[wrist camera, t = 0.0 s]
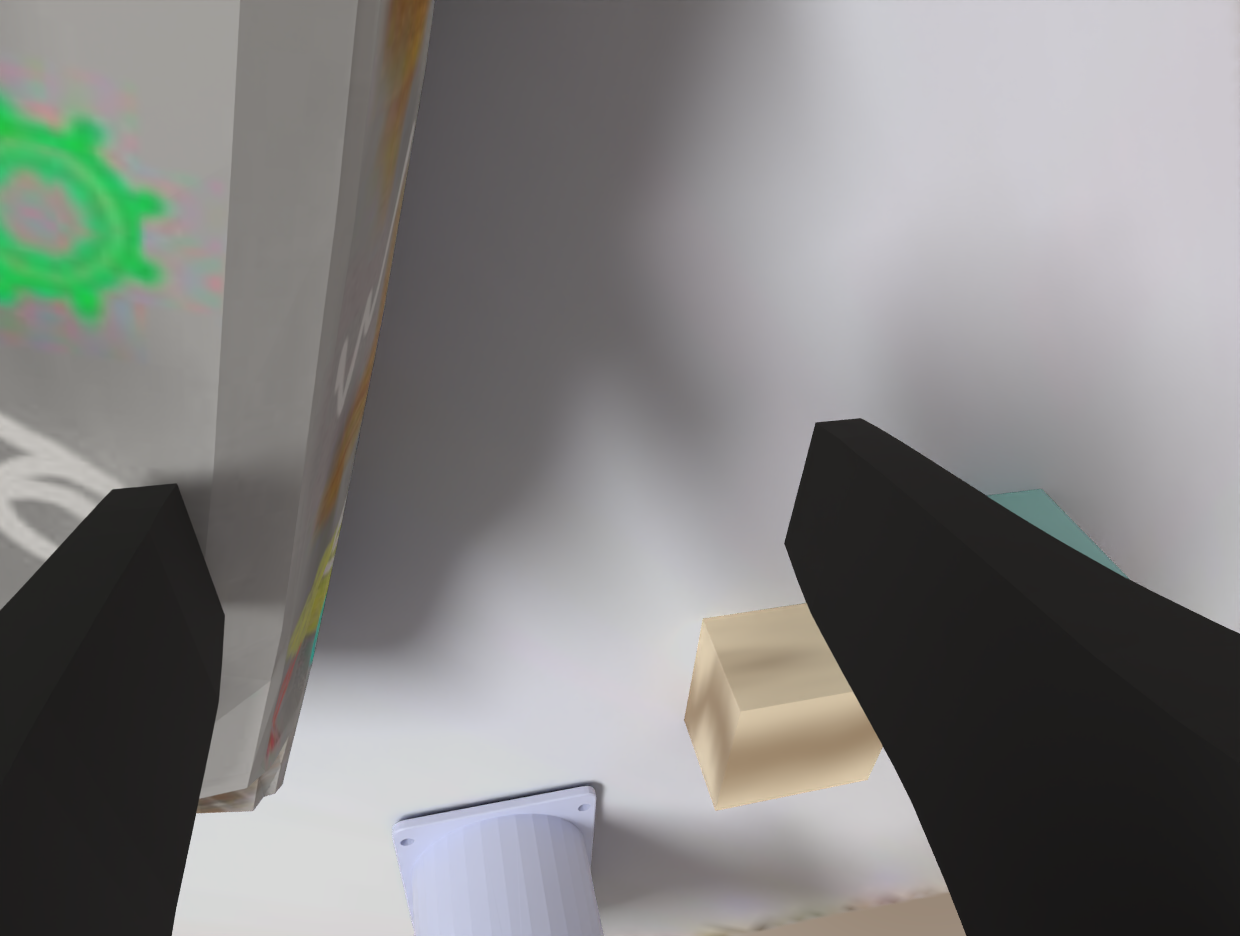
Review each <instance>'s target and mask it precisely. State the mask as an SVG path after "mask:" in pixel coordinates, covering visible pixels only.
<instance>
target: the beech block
mask: <svg viewBox="0 0 1240 936" xmlns="http://www.w3.org/2000/svg"><path fill="white" fill-rule="evenodd" d="M684 721H685V723H686V726H687V729H688V732H689V735H690V738H691V741H692V744H693V747H694V750H695V753H696V756H697V759H698V761H699V764H700V767H701V770H702V773H703V776H704V779H705V782H706V785H707V788H708V791H709V794H710V797H711V799H712V802H713V805H714V808H715V811H717V810H722V809H727V808H732V807H737V806H742V805H747V804H751V803H756V802H761V801H766V800H771V799H776V798H781V797H786V796H791V795H796V794H800V793H805V792H810V791H815V790H820V789H825V788H830V787H835V786H840V785H844V784H849V783H854V782H859V781H864V780H868V778H869V775H870V773H871V771H872V769H873V767H874V764H875V762H876V760H877V758H878V756H879V754H880V751H881V749H882V747H883V746H882V744H881V742H880V740H879V738H878V736H877V735H876V733H875V731H874V729H873V727H872V726H871V724H870V722H869V720H868V718H867V716H866V715H865V713H864V711H863V709H862V707H861V706H860V704H859V702H858V700H857V698H856V696H855V695H854V693H853V691H852V689H851V687H850V686H849V684H848V682H847V680H846V678H845V676H844V675H843V673H842V671H841V669H840V667H839V665H838V664H837V662H836V660H835V658H834V656H833V654H832V652H831V651H830V649H829V647H828V645H827V643H826V641H825V639H824V638H823V636H822V634H821V632H820V630H819V628H818V626H817V624H816V622H815V620H814V619H813V617H812V615H811V613H810V610H809V608H808V605H807V603H804V604H797V605H790V606H784V607H777V608H770V609H764V610H757V611H750V612H744V613H737V614H730V615H724V616H717V617H710V618H703V620H702V626H701V631H700V637H699V642H698V648H697V653H696V659H695V664H694V670H693V675H692V681H691V686H690V692H689V697H688V702H687V708H686V713H685V719H684Z"/></svg>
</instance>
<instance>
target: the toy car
mask: <svg viewBox="0 0 1240 936" xmlns="http://www.w3.org/2000/svg"><path fill="white" fill-rule="evenodd" d="M434 5H435V0H0V610H1V609H2V608H3V607H4V606H5V605H6V604H7V602H8V601H9V600H10V599H11V598H12V597H13V596H14V595H15V594H16V593H17V592H18V591H19V590H20V589H21V588H22V586H23V585H24V584H25V583H26V582H27V581H28V580H29V579H30V578H31V577H32V576H33V574H34V573H35V572H36V571H37V570H38V569H39V568H40V567H41V566H42V565H43V564H44V562H45V561H46V560H47V559H48V558H49V557H50V556H51V555H52V554H53V553H54V552H55V550H56V549H57V548H58V547H59V546H60V545H61V544H62V543H63V542H64V541H65V539H66V538H67V537H68V536H69V535H70V534H71V533H72V532H73V531H74V530H75V529H76V527H77V526H78V525H79V524H80V523H81V522H82V521H83V520H84V519H85V518H86V517H87V516H88V514H89V513H90V512H91V511H92V510H93V509H94V508H95V507H96V506H97V505H98V504H99V503H100V502H101V501H102V500H103V498H104V497H105V496H106V495H107V494H108V493H109V492H110V491H111V490H112V489H121V488H131V487H142V486H152V485H163V484H174V483H177V485H178V487H179V490H180V493H181V496H182V498H183V501H184V504H185V507H186V509H187V512H188V515H189V518H190V520H191V523H192V526H193V529H194V531H195V534H196V537H197V540H198V542H199V545H200V548H201V551H202V553H203V556H204V559H205V562H206V564H207V567H208V570H209V573H210V575H211V578H212V581H213V584H214V586H215V589H216V592H217V595H218V597H219V600H220V603H221V606H222V608H223V611H224V614H225V624H224V641H223V658H222V671H221V683H220V695H219V704H218V709H217V714H216V720H215V725H214V730H213V735H212V739H211V744H210V749H209V754H208V759H207V764H206V769H205V774H204V779H203V783H202V788H201V793H200V797H199V802H198V807H197V812H196V813H216V812H242V811H253V810H254V809H255V808H256V806H257V805H258V804H259V802H260V801H261V799H262V798H263V797H265V796H268V795H271V794H275V793H276V791H277V790H278V789H279V788H280V787H281V786H282V784H283V780H284V776H285V771H286V767H287V763H288V759H289V755H290V751H291V747H292V743H293V739H294V735H295V731H296V727H297V722H298V718H299V714H300V710H301V706H302V702H303V698H304V694H305V690H306V686H307V682H308V677H309V673H310V669H311V666H312V661H313V656H314V652H315V648H316V643H317V638H318V633H319V629H320V624H321V619H322V614H323V609H324V605H325V600H326V595H327V590H328V586H329V581H330V576H331V571H332V566H333V562H334V557H335V552H336V547H337V543H338V538H339V533H340V528H341V523H342V519H343V514H344V509H345V504H346V499H347V494H348V489H349V484H350V479H351V474H352V469H353V464H354V459H355V454H356V449H357V444H358V439H359V434H360V429H361V424H362V419H363V414H364V409H365V404H366V399H367V394H368V389H369V384H370V379H371V374H372V369H373V364H374V359H375V354H376V349H377V344H378V339H379V334H380V329H381V324H382V319H383V313H384V308H385V302H386V296H387V290H388V284H389V278H390V272H391V267H392V261H393V255H394V249H395V243H396V237H397V231H398V226H399V220H400V214H401V208H402V202H403V196H404V190H405V185H406V179H407V173H408V167H409V161H410V155H411V149H412V144H413V138H414V132H415V127H416V121H417V115H418V110H419V104H420V98H421V92H422V87H423V81H424V75H425V69H426V62H427V55H428V48H429V41H430V34H431V27H432V20H433V13H434Z"/></svg>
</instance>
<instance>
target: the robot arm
mask: <svg viewBox="0 0 1240 936" xmlns="http://www.w3.org/2000/svg"><path fill="white" fill-rule="evenodd" d="M784 544H785V546H786V549H787V552H788V555H789V558H790V560H791V563H792V566H793V569H794V572H795V574H796V577H797V580H798V583H799V585H800V588H801V590H802V593H803V595H804V598H805V600H806V603H807V605H808V608H809V610H810V613H811V615H812V617H813V619H814V620H815V622H816V624H817V626H818V628H819V630H820V632H821V634H822V636H823V638H824V639H825V641H826V643H827V645H828V647H829V649H830V651H831V652H832V654H833V656H834V658H835V660H836V662H837V664H838V665H839V667H840V669H841V671H842V673H843V675H844V676H845V678H846V680H847V682H848V684H849V686H850V687H851V689H852V691H853V693H854V695H855V696H856V698H857V700H858V702H859V704H860V706H861V707H862V709H863V711H864V713H865V715H866V716H867V718H868V720H869V722H870V724H871V726H872V727H873V729H874V731H875V733H876V735H877V736H878V738H879V740H880V742H881V744H882V746H883V747H884V749H885V751H886V753H887V755H888V757H889V758H890V760H891V762H892V764H893V766H894V768H895V770H896V772H897V774H898V776H899V778H900V780H901V782H902V784H903V786H904V788H905V790H906V792H907V794H908V796H909V798H910V800H911V802H912V804H913V807H914V809H915V811H916V814H917V816H918V818H919V821H920V823H921V825H922V828H923V830H924V832H925V835H926V837H927V840H928V842H929V844H930V847H931V849H932V851H933V854H934V856H935V858H936V861H937V863H938V865H939V868H940V870H941V872H942V875H943V877H944V880H945V882H946V885H947V887H948V890H949V892H950V895H951V897H952V900H953V903H954V905H955V908H956V910H957V913H958V915H959V918H960V920H961V923H962V925H963V928H964V930H965V933H966V936H1240V634H1239V633H1237V632H1235V631H1233V630H1230V629H1228V628H1226V627H1224V626H1222V625H1220V624H1218V623H1216V622H1213V621H1211V620H1209V619H1207V618H1205V617H1203V616H1201V615H1199V614H1197V613H1195V612H1193V611H1191V610H1189V609H1187V608H1185V607H1183V606H1181V605H1179V604H1177V603H1175V602H1173V601H1171V600H1169V599H1167V598H1164V597H1162V596H1160V595H1158V594H1156V593H1154V592H1152V591H1150V590H1148V589H1146V588H1145V587H1143V586H1141V585H1139V584H1137V583H1135V582H1133V581H1131V580H1129V579H1127V578H1126V577H1124V576H1122V575H1120V574H1118V573H1116V572H1114V571H1113V570H1111V569H1109V568H1107V567H1106V566H1104V565H1102V564H1100V563H1098V562H1097V561H1095V560H1093V559H1091V558H1090V557H1088V556H1086V555H1084V554H1083V553H1081V552H1079V551H1077V550H1075V549H1074V548H1072V547H1070V546H1068V545H1067V544H1065V543H1063V542H1061V541H1060V540H1058V539H1056V538H1055V537H1053V536H1051V535H1050V534H1048V533H1046V532H1045V531H1043V530H1041V529H1039V528H1038V527H1036V526H1034V525H1033V524H1031V523H1029V522H1028V521H1026V520H1025V519H1023V518H1021V517H1020V516H1018V515H1016V514H1015V513H1013V512H1012V511H1010V510H1008V509H1007V508H1005V507H1004V506H1002V505H1000V504H999V503H997V502H996V501H994V500H992V499H991V498H989V497H988V496H986V495H984V494H983V493H981V492H980V491H978V490H976V489H975V488H973V487H972V486H970V485H969V484H967V483H965V482H964V481H962V480H961V479H959V478H958V477H956V476H955V475H953V474H951V473H950V472H948V471H947V470H945V469H944V468H942V467H940V466H939V465H937V464H936V463H934V462H933V461H931V460H930V459H928V458H926V457H925V456H923V455H922V454H920V453H919V452H917V451H915V450H914V449H912V448H911V447H909V446H907V445H906V444H904V443H903V442H901V441H899V440H898V439H896V438H895V437H893V436H891V435H890V434H888V433H886V432H885V431H883V430H881V429H879V428H878V427H876V426H874V425H872V424H870V423H869V422H867V421H865V420H863V419H861V418H859V419H849V420H838V421H828V422H817V423H815V427H814V431H813V435H812V439H811V443H810V447H809V450H808V454H807V458H806V462H805V466H804V470H803V474H802V477H801V481H800V485H799V489H798V493H797V497H796V500H795V504H794V508H793V512H792V516H791V520H790V524H789V527H788V531H787V535H786V539H785V543H784ZM224 624H225V614H224V611H223V608H222V606H221V603H220V600H219V597H218V595H217V592H216V589H215V586H214V584H213V581H212V578H211V575H210V573H209V570H208V567H207V564H206V562H205V559H204V556H203V553H202V551H201V548H200V545H199V542H198V540H197V537H196V534H195V531H194V529H193V526H192V523H191V520H190V518H189V515H188V512H187V509H186V507H185V504H184V501H183V498H182V496H181V493H180V490H179V487H178V485H177V483H174V484H163V485H152V486H142V487H131V488H121V489H112V490H111V491H110V492H109V493H108V494H107V495H106V496H105V497H104V498H103V500H102V501H101V502H100V503H99V504H98V505H97V506H96V507H95V508H94V509H93V510H92V511H91V512H90V513H89V514H88V516H87V517H86V518H85V519H84V520H83V521H82V522H81V523H80V524H79V525H78V526H77V527H76V529H75V530H74V531H73V532H72V533H71V534H70V535H69V536H68V537H67V538H66V539H65V541H64V542H63V543H62V544H61V545H60V546H59V547H58V548H57V549H56V550H55V552H54V553H53V554H52V555H51V556H50V557H49V558H48V559H47V560H46V561H45V562H44V564H43V565H42V566H41V567H40V568H39V569H38V570H37V571H36V572H35V573H34V574H33V576H32V577H31V578H30V579H29V580H28V581H27V582H26V583H25V584H24V585H23V586H22V588H21V589H20V590H19V591H18V592H17V593H16V594H15V595H14V596H13V597H12V598H11V599H10V600H9V601H8V602H7V604H6V605H5V606H4V607H3V608H2V609H1V610H0V936H172V930H173V924H174V918H175V912H176V907H177V902H178V897H179V892H180V888H181V883H182V878H183V873H184V869H185V864H186V859H187V854H188V850H189V845H190V840H191V835H192V831H193V826H194V821H195V816H196V812H197V807H198V802H199V797H200V793H201V788H202V783H203V779H204V774H205V769H206V764H207V759H208V754H209V749H210V744H211V739H212V735H213V730H214V725H215V720H216V714H217V709H218V704H219V695H220V683H221V671H222V658H223V641H224ZM596 798H597V797H596V793H595V789H594V788H593V787H591V786H581V787H576V788H571V789H565V790H560V791H555V792H549V793H544V794H539V795H534V796H528V797H523V798H518V799H512V800H507V801H502V802H496V803H491V804H486V805H481V806H475V807H470V808H465V809H459V810H454V811H449V812H444V813H438V814H433V815H428V816H422V817H417V818H412V819H406V820H402V821H399V822H397V823H396V824H395V825H394V826H393V827H392V838H393V842H394V846H395V851H396V855H397V859H398V864H399V868H400V872H401V877H402V881H403V885H404V890H405V894H406V898H407V903H408V907H409V911H410V916H411V920H412V924H413V929H414V936H604V934H603V929H602V925H601V920H600V915H599V910H598V905H597V900H596V896H595V891H594V886H593V881H592V876H591V861H592V848H593V836H594V823H595V811H596Z"/></svg>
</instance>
